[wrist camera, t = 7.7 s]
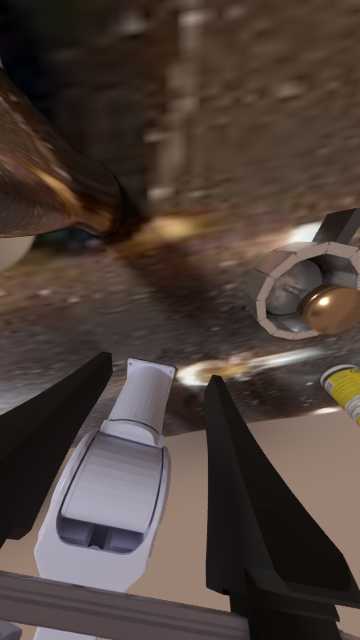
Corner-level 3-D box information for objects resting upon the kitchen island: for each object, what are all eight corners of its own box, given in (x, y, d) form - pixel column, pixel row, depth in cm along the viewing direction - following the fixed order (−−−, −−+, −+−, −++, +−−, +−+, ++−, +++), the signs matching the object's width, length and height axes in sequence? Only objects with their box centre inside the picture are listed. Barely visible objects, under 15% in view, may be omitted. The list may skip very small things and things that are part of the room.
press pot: (298, 327, 19) (322, 346, 16) (232, 312, 19) (242, 328, 15) (368, 227, 14) (430, 222, 10) (277, 206, 13) (307, 193, 10)
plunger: (296, 317, 18) (347, 353, 12) (248, 306, 18) (276, 338, 12) (331, 265, 15) (421, 280, 9) (274, 252, 15) (327, 259, 9)
